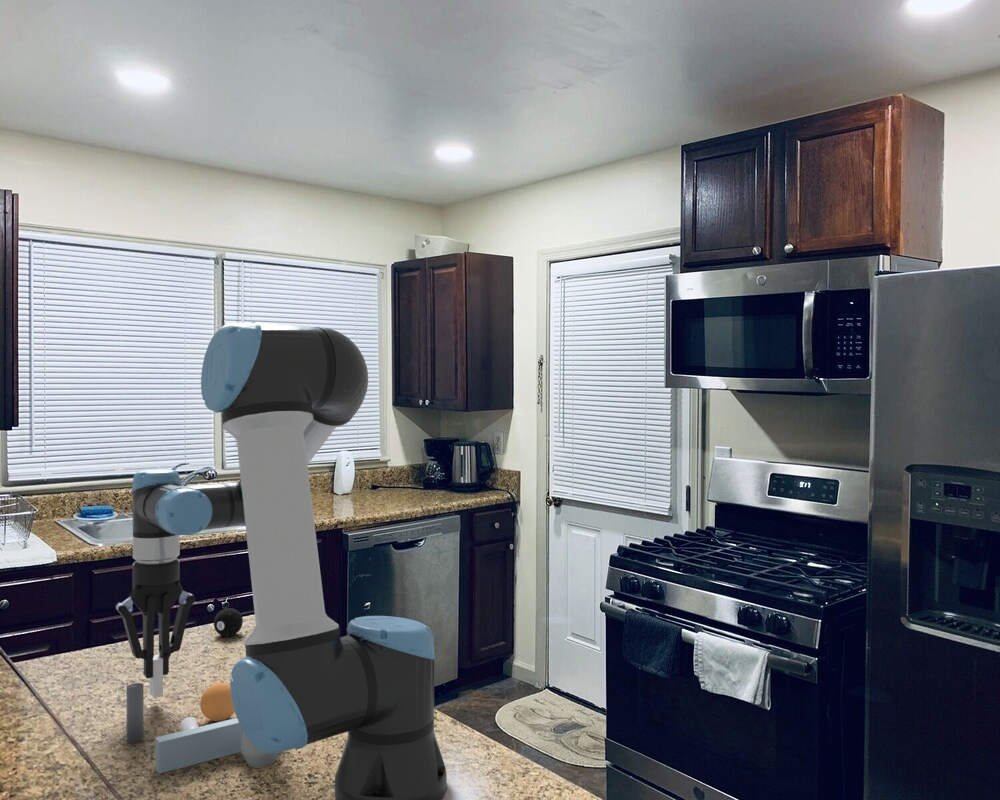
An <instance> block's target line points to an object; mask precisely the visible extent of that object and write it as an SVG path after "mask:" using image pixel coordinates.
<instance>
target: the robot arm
mask: <svg viewBox="0 0 1000 800" xmlns="http://www.w3.org/2000/svg"><path fill="white" fill-rule="evenodd" d="M200 374H201V376H200V377H201V378H200V388H201V389H200V390H201V397H202V400H203V401H204V406H205V407H206V408H207V409H208V410H210V411H211V412H212V411H213V412H214V413H215V414H216V413H217V414H218V413H221V419H222V420H221V421H222V428H223V430H224V431H226V432H227V433H228V434H230V435H232V437H233V438H234V440H236V446H237V457H238V465H239V466H238V467H239V476H240V477H239V478H240V479H239V481H236V482H226V483H224V482H223V483H221V482H220V483H215V484H214V483H211V484H209V483H208V484H197V485H181V480H180V474H179V472H178V471H177V470H174V469H146V470H140V471H137V472H136V473H135V474H134V475H133V477H132V490H131V491H130V493H131V496H132V498H131V499H132V559H133V560H135V561H134V562H133V563H132V588H131V590H130V592H129V597H127V598H126V599H125V600H123V601H122V602H117V603H116V604H115V610H117V611H118V613H119V614H120V615H121V618H122V621H123V625H124V628H125V629H124V630H125V632H126V637H127V640H128V643H129V646H130V651H131V654H132V655H133V656H134V657H135V658H136V659H138V660H139V659H141V660H142V659H143V675H144V677H145V678H146V679H149V695H150V696H151V697H152V698H153V699H157V698H160V697H161V698H162V697H163V696H164V676H167V675H168V674H169V672H170V661H169V660H170V657H171V655H172V654H174V653H175V652H179V651H180V649H181V646H182V642H183V638H184V634H185V630H186V626H187V622H188V618H189V613H190V609H191V608H192V606H193V604H195V603H194V602H195V601H196V599H197V598H196V596H195V595H194V594H193V593H191V592H187V591H184V590H183V586H182V584H181V581H180V572H181V571H180V560H179V558H178V557H179V556H180V555H181V554H180V553H181V552H180V548H181V547H180V536H187V537H188V536H193V535H197V534H198V533H201V532H202V531H205V530H214V529H223V528H229V527H230V528H231V527H238V526H239V527H240V526H245V533H246V543H247V544H246V545H247V552H248V553H247V554H248V561H249V563H248V564H249V570H250V571H249V572H250V581H251V590H252V599H253V600H252V601H253V610H254V611H253V612H254V620H255V626H254V628H253V630H252V632H250V634H249V635H248V637H247V638H246V639H245V641H244V648H245V657H242V658H240V660H238V661H237V662H236V663H235V664H234V665H233V667H232V669H231V673H230V674H231V678H230V679H229V680H230V681H229V682H230V683H229V685H230V689H231V697H232V702H233V707H234V710H235V712H234V713H235V715H236V718H237V719H238V721H239V724H240V726H241V728H242V730H243V732H244V733H245V734H246V736H247V738H248V739H249V741H250V742H251V743H252V744H253V745H254V746H255V747H256V748H258V749H259V750H261V751H263V752H265V753H271V754H273V753H278V754H279V753H282V752H286V751H290V750H293V749H294V750H295V749H296V750H300V749H303V748H304V747H306V746H307V745H310V744H313V743H316V742H319V741H322V740H326V739H329V738H332V737H334V736H338V735H341V734H344V733H347V739H346V742H345V745H344V748H343V751H342V753H341V757H340V759H339V764H338V766H337V770H336V773H335V777H334V798H335V800H442V798H443V799H444V797H445V794H446V792H447V787H448V786H447V784H448V783H447V782H448V781H447V780H448V779H447V778H448V777H447V774H448V773H447V768H446V765H445V762H444V759H443V756H442V753H441V749H440V746H439V743H438V740H437V737H436V733H435V660H436V654H435V644H434V634H433V632H432V630H431V628H430V627H429V626H428V625H426V624H424V623H422V622H421V621H417V620H414V619H411V618H410V619H409V618H405V617H397V616H388V615H365V616H359V617H355V618H353V619H351V620H350V621H349V622H348V626H347V628H346V632H347V633H348V634H347V635H344V636H342V637H341V632H340V625H339V623H337V622H336V621H335V620H333V619H332V618H331V617H329V615H327V613H326V609H325V600H324V592H323V584H322V582H323V581H322V575H321V569H320V568H321V567H320V558H319V550H318V543H317V533H316V525H315V517H314V516H315V515H314V508H313V499H312V492H311V483H310V476H309V475H310V473H309V467H308V466H309V463H310V462H311V460H313V458H314V457H315V455H317V453H318V452H319V450H320V449H321V448H322V447H323V445H324V444H325V443H326V441H327V440H328V439H329V437H330V436H331V435H332V434H333V433H334V431H335V430H336V428H338V427H342V426H344V425H347V424H348V423H349V422H350V421H351V420H352V419H353V417H354V416H355V415H356V414H357V412H358V411H359V410H360V408H361V406H362V405H363V403H364V401H365V400H364V399H365V398H366V395H367V393H368V388H369V387H368V385H369V370H368V365H367V363H366V360H365V357H364V355H363V354H362V352H361V351H360V349H359V347H358V346H357V345H356V344H355V343H354V342H353V341H352V340H351V339H350V338H349V337H347V336H346V335H345V334H344V333H341V332H340V331H337V330H335V329H332V328H329V327H321V326H314V327H310V326H301V325H300V326H299V325H285V324H272V323H260V322H258V321H252V322H247V323H246V322H243V323H242V322H233V323H227V324H225V325H222V326H221V327H220V328H219V329H217V331H216V332H215V333H214V334H213V336H212V337H211V340H210V341H209V342H208V345H207V348H206V350H205V353H204V357H203V362H202V366H201V373H200ZM177 601H178V603H179V605H178V608H177V611H176V614H175V615H176V616H175V619H174V624H173V625H174V626H173V628H172V632H171V633H170V631H171V630H170V627H171V626H170V624H171V623H170V618H171V610H172V608H173V607H174V605H175V604H176V602H177ZM133 605H135V607H137V608H138V610H139V611H140V612H141V613H142V615H141V616H142V645H141V642H140V639H139V635H138V630H137V627H136V624H135V619H134V616H133V615H132V612H133V610H134V608H133ZM156 614H157V615H158V653H159V654H155V620H156V617H155V616H156ZM170 634H171V636H170ZM170 637H171V638H170Z"/></svg>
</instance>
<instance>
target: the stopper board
mask: <svg viewBox="0 0 1000 800" xmlns="http://www.w3.org/2000/svg"><path fill="white" fill-rule="evenodd" d="M242 738H243V730H242V728H241V726H240V724H239V721H238V719H237V717H235V718H231V719H226V720H223V721H217V722H215V723H210V724H206V725H203V726H202V725H201V726H198V727H197V728H193V729H189V730H185V731H182V730H181V731H176V732H174V733H169V734H165V735H160V736H156V737H155V738H154V739H155V746H154V747H155V752H154V753H155V757H154V758H155V760H154V761H155V766H154V767H155V770H156V772H157V773H158V774H159V775H160V774H164V773H167V772H172V771H174V770H179V769H182V768H186V767H191V766H194V765H197V764H198V765H199V764H201V763H205V762H209V761H213V760H215V759H216V760H217V759H221V758H224V757H227V756H230V755H235V754H239V753H241V743H242Z"/></svg>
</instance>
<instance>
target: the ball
mask: <svg viewBox="0 0 1000 800" xmlns="http://www.w3.org/2000/svg"><path fill="white" fill-rule="evenodd" d="M199 705H200V707H199V708H200V711H201V712H202V714H203V715H202V716H204V717H205V718H206V719H208V720H209V721H212V722H222V721H226V720H229V718H230V717H231V716H233V715H234V713H235V710H234V707H233V702H232V697H231V689H230V683H226V682H217V683H214V684H211V685H210V686H209V687H207V688H206V689H205V691H204V692H203V693H202V695H201V697H200V704H199Z"/></svg>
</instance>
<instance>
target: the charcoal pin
mask: <svg viewBox="0 0 1000 800" xmlns="http://www.w3.org/2000/svg"><path fill="white" fill-rule="evenodd" d="M144 685H145V684H144V683H140V682H136V683H130V684H128V685H127V686H126V743H128V744H130V743H131V744H132V743H133V744H137V743H138V744H139V743H140V741H141V742H143V741H142V740H144V735H145V734H144V731H145V730H144V727H145V726H144V724H145V723H144V713H145V711H144V708H145V705H144V703H145V702H144V701H145V700H144V697H145V696H144V694H145V693H144V691H145V690H144V689H145V688H144Z"/></svg>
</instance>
